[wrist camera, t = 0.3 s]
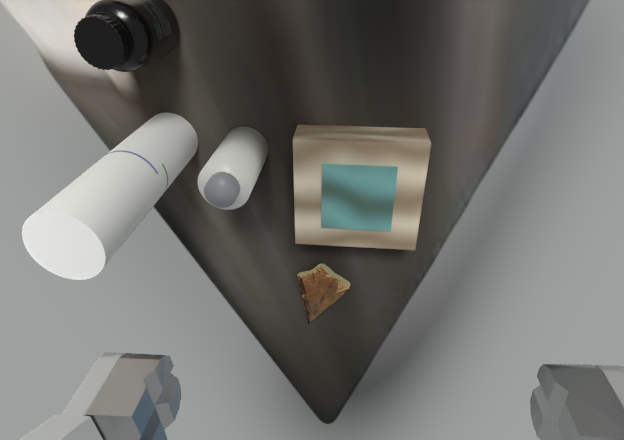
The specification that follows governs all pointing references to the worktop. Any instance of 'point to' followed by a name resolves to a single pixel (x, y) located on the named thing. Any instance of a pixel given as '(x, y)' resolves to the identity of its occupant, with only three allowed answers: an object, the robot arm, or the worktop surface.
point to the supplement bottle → (126, 33)
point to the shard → (320, 289)
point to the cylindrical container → (109, 199)
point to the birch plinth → (359, 185)
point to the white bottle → (233, 168)
